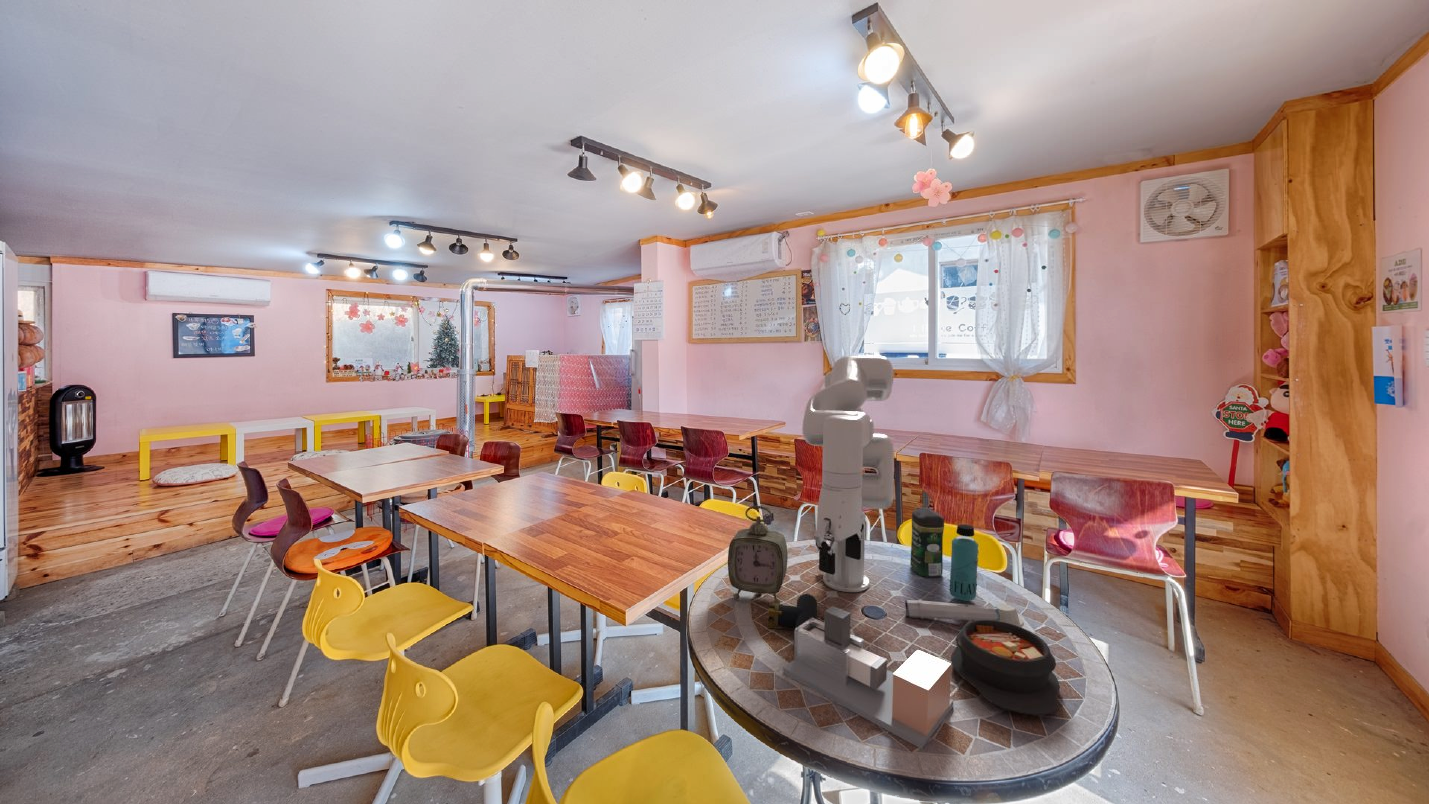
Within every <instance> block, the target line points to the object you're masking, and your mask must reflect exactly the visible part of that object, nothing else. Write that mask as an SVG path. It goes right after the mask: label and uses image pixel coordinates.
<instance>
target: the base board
mask: <svg viewBox="0 0 1429 804" xmlns="http://www.w3.org/2000/svg"><path fill="white" fill-rule="evenodd" d="M894 673H895V672H893V671H891V670H888V669H887V678H886V681H885V682H884V683H883V684H882V685H881V686H880V687H879V688H878V689H877V690H875V689H873V688H871V687H870V686H868V685H866V684H864V683H862V682H860V681H858V680H856V679H853V680H852V681H851V682H850V683H849V684H848V685H847V686H845V685H843V684H841V683H839V682H837V681H835V680H833V679H831V678H829V677H827V676H825V675H824V674H822V673H820V672H818V671H816V670H814V669H812V668H810V667H808V666H806V665H804V664H802V663H800V662H798V661H796V660H794V659H793V660H792V661H790V662H789V663H787V664H786V665H785V666H783V667H782V674H784V675H786V676H787V677H790V678H792V680H795V681H797V682H798V683H800V684H802V685H804V686H806V687H807V688H809V689H810V690H813V691H815V692H817V693H818V694H820V695H822V696H824V697H826V698H827V699H830V700H831V701H833V702H834V703H837V704H838V705H840V706H842V707H844V708H845V709H847V710H849V711H852V712H853V713H855V714H857V715H858V716H860V717H862V718H864V719H866V720H868V721H869V722H871V723H873V724H875V725H877V726H879V727H881V728H883V729H884V730H886V731H887V732H890V733H892V734H893V735H895V736H897V737H898V738H901V739H902V740H904V741H906V742H908V743H910V744H912V745H913V746H915V747H916V748H919V749H921V750H922V749H923V748H924V747H925V745H927V744H926V743H928V741H929V740H930V738H932V736H933V734H934V733H935V732H936V730H937V729H938V728H939V727H940V725H941V723H942V722H944V719H945V718H946V717H947V715H948V714H949V713H950V711H951V710H952V709H953V708H954V699H953V698H950V703H949V707H948V708H947V710H946V711H945V712H944V713H943V715H942V716H941V717H940V719H939V720H938V721H937V723H936V724H935V725H934V727H933V728H932V729H931V731H930V732H929V733H928V735H927V736H926V735H925V734H923V733H921V732H919V731H917V730H915V729H913V728H911V727H909V726H907V725H906V724H904V723H902V722H900V721H898V720H896V719H894V718H892V699H893V674H894Z"/></svg>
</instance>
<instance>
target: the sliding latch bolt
mask: <svg viewBox="0 0 1429 804" xmlns="http://www.w3.org/2000/svg"><path fill="white" fill-rule="evenodd" d="M851 614H852V613H851V612H849V611H846V610H844V609H841V608H839V607H836V606H834V605H832V606H831V607H829V608H827V609H826V610H824V623H825V625H824V631H821V630H819V629H817V628H814V629H812V630H811V631H809V632H811V633H813V634H816V635H818V636H820V637H822V638H824V639H827V640H829V641H831V642H833V643H835V644H838V645H840V646H842V647H844V648H846V649H849V650H850V655H849V670H848V676H850V677H852V678H854V679H856V680H858V681H860V682H862V683H864V684H866V685H868V686H870V687H871V688H873V689H875V690H877V689H878V688H879V687H880V686H881V685H882V684H883V683H884V682H885V681H886V678H887V670H888V668H887V667H888V659H887V658H886V657H883V656H879V655H878V654H875V653H873V652H871V651H868V650H866V649H864V648H863V649H862V648H860V647H857V646H855V645H853V644H851V643H850V634H851Z"/></svg>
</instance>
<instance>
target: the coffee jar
mask: <svg viewBox="0 0 1429 804" xmlns="http://www.w3.org/2000/svg"><path fill="white" fill-rule="evenodd" d="M944 529H945V518H944V517H943V516H942V515H941V514H940V513H938V512H937V511H935V510H933V509H931V508H930V507H917V508H915V509H914V510H913V511H912V512H911V542H910V544H911V545H910V547H911V548H910V549H911V550H910V564H909V565H910V567H911V568H912V570H913V571H914V573H916V574H917V575H919V576H922V577H927V578H937V577H941V576H942V575H943V567H944V566H943V565H944V564H943V561H944V560H943V559H944V558H943V550H944V546H943V545H944V544H943V542H944V541H943V539H944Z"/></svg>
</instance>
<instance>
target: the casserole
mask: <svg viewBox="0 0 1429 804" xmlns="http://www.w3.org/2000/svg"><path fill="white" fill-rule="evenodd" d="M955 641H956V647H955V649H953V652H952V653H951V654H950V661H951V662H950V663H951V666H953V668H954V670H955V672H956V673H958V674H959V676H960V677H962V678H963V679H964V680H965V681H966V682H968V683H969V684H970V685H971V686H973V688H975V689H976V691H978V692H979V693H980V695H981V696H982V697H984V699H986V701H988V702H990V703H991V704H992V705H994V706H997V707H1000V708H1002V709H1004V710H1008V711H1012V712H1015V713H1019V714H1025V715H1032V716H1033V715H1035V716H1046V715H1051V714H1055V713H1056V712H1058V710H1059V709H1060V707H1059V700H1058V696H1059V692H1060V688H1061V687H1060V681H1059V679H1058V678H1057V676H1056V675H1055V673H1054V672H1053V671H1054V670H1055V669H1056V665H1057V662H1056V658H1055V657H1054V655H1053V653H1052V652H1051V650H1050V647H1049V646H1048V643H1046V642H1045V641H1044V639H1042V638H1041V637H1040V636H1039V635H1037V634H1035V633H1034V632H1032V631H1030V630H1028V629H1026V628H1024V627H1022V628H1021V627H1019V626H1016V625H1013V624H1009V623H1005V622H1001V621H994V620H970V621H969V622H967V623H966V624H964V625H963V627H962V629H961V630H960V631H959V632H958V633H957V634H956V638H955Z"/></svg>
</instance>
